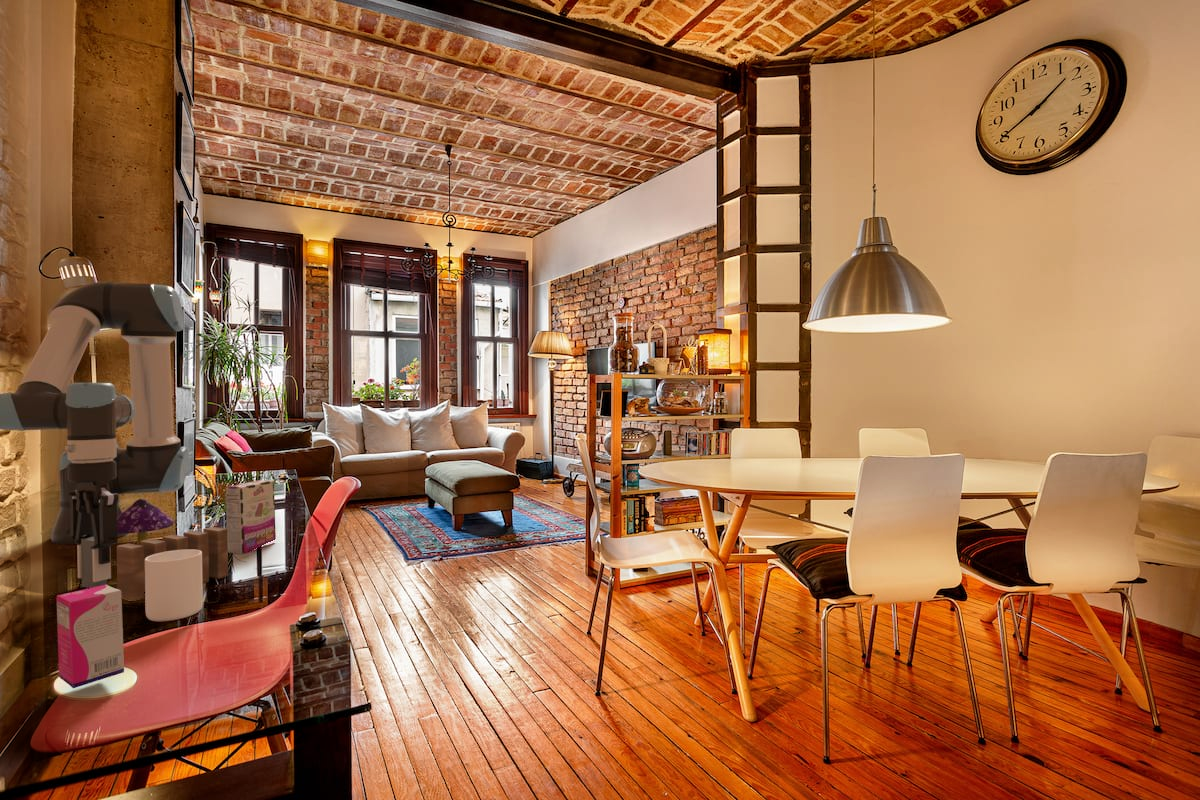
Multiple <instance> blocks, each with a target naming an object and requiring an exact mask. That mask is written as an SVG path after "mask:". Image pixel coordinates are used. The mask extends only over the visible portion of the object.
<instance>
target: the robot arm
mask: <svg viewBox="0 0 1200 800" xmlns="http://www.w3.org/2000/svg"><path fill="white" fill-rule="evenodd" d="M183 310H184V309H183V305H182V302H181V299H180V296H179V294H178V292H177V291H176V289H175V288H173V287H172V286H169V285H162V284H155V283H136V282H135V283H134V282H133V283H132V282H131V283H130V282H111V281H98V282H97V281H96V282H91V283H88V284H85V285H82V286H80V287H78V288H76V289H74V290H72V291H71V292H68V293H67V294H66V295H64V296H63V297H62V298H61V299H60V300H59V301H58V302H57V303H56V304H55V305H54V306H53V308H52V310H51V312H50V314H49V316H48V317H49V318H48V321H49V323H50V326H49V328H48V330H47V332H46V334H45V336H44V337H43V339H42V342H41V343H40V345H39V347H38V349H37V351H36V353H35V354H34V356H33V359H32V361H31V362H30V364H29V366H28V368H27V370H26V372H25V373H24V376H23V377H22V379H21V381H20V383H19V385H18V387H17V389H16V390H15V392H11V391H10V392H5V393H0V430H2V431H21V432H22V431H23V432H24V431H43V430H46V431H47V430H66V441H67V442H66V443H67V445H65V446H64V449H65V451H64V452H63V453H62V454H61V455H60V457H59V468H58V472H59V473H58V474H59V503H60V504H59V506H60V508H59V512H58V514H57V517H56V521H55V523H54V526H53V528H52V530H51V534H50V535H51V537H50V538H51V539H50V540H51V542H52V543H53V544H58V545H74V544H75V545H76V547H77V548H76V550H77V552H76V555H77V558H76V559H77V579H82V558H81V539H83V538H89V537H94V542H95V546H91V549H92V561H93V582H98V581H102V580H106V579H107V580H108V579H109V580H111V579H112V565H111V564H112V562H111V561H112V559H111V557H112V556H111V555H112V554H111V553H112V552H111V546H113V545H115V544H117V543H118V541H119V540H118V538H120V537H124V536H127V534H118V532H117V517H118V516H119V515H121V514H122V513H123V512H124V511H123V509H122V508H121V505H120V495H132V494H133V495H134V494H147V493H148V494H150V493H151V494H152V493H159V494H161V493H166V492H174V491H178V490H180V489H181V488H182V487H183V485H184V483H185V481H186V478H187V474H188V470H189V469H188V468H189V461H190V454H189V453H190V452H189V451H190V450H189V448H188V447H187V446H184V445H183V446H182V443H181V439H180V438H179V437H177V436H176V435H175V434H174V418H173V392H172V391H173V389H172V388H173V387H172V367H171V366H172V364H171V363H172V362H171V344H172V342H174V341H175V340H176V339H177V332H180V331H183V330H184V327H185V316H184V311H183ZM105 329H112V330H120V337H121V338H122V339H123V340H125V341H126V342H127V343H128V350H129V351H128V352H129V356H128V357H129V371H130V373H129V375H130V393H131V394H130V396H131V397H128V396H127V395H125V394H122V393H119V392H116V387H115V385H114V384H113V383H111V382H72V380H73V377H74V375H75V373H76V371H77V368H78V367H79V364H80V362H81V360H82V357H83V355H84V353H85V351H86V349H87V347H88V345H89V342H90V340H91V338H93V337H95V336H97V335H98V334H99V332H100V331H101V330H105ZM131 420H132V437H131V438H130V439H129V440H127V442H126V443H125V449H124V448H123V449H121V448H120V446H119V444H118V443H117V442H118V441H117V431H116V430H117V428H119V427H123V426H124V425H127V424H128V423H129V422H131Z"/></svg>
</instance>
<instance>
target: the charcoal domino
mask: <svg viewBox="0 0 1200 800" xmlns="http://www.w3.org/2000/svg"><path fill="white" fill-rule="evenodd" d="M91 546H95V542H94V537H89V538H83V539H81V558H82V578H81V588H85V587H86V588H85V589H88V588H93V587H98V586H102V585H108V579H106V580H102V581H98V582H93V561H92V549H91Z"/></svg>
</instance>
